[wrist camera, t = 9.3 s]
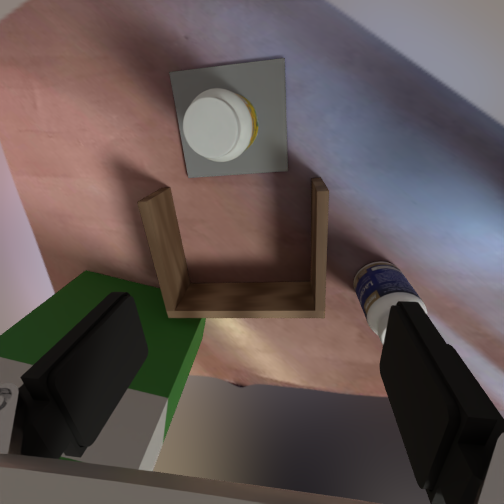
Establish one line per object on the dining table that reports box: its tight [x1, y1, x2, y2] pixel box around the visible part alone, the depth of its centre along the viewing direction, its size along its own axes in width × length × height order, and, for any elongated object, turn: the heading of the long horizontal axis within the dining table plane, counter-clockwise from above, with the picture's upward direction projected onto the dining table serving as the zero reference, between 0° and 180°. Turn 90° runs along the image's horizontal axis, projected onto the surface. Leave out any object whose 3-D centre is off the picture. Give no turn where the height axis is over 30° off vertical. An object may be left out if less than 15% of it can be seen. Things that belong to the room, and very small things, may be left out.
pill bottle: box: [354, 262, 427, 344], centre depth 30 cm, size 6×6×10 cm
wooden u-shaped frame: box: [137, 178, 329, 318], centre depth 31 cm, size 18×14×6 cm
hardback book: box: [0, 270, 206, 471], centre depth 29 cm, size 18×7×24 cm, turn 78°
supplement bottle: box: [183, 88, 259, 162], centre depth 24 cm, size 5×5×10 cm
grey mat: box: [169, 58, 288, 178], centre depth 28 cm, size 11×10×1 cm
